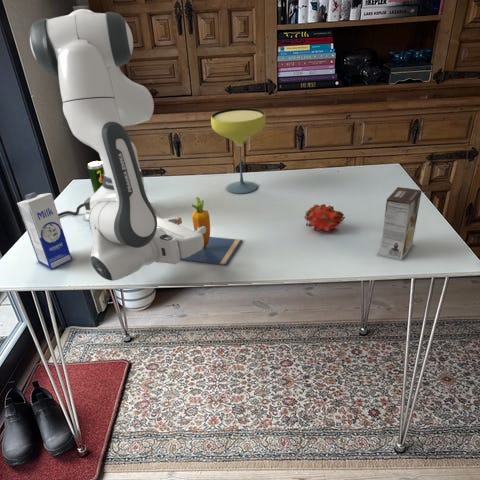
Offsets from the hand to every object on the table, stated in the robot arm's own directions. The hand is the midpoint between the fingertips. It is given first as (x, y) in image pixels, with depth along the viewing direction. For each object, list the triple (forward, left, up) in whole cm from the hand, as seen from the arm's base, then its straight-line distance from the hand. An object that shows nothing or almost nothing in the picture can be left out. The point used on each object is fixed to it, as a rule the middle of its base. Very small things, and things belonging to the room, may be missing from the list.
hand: (191, 223), depth 128 cm
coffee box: (+53, +13, -10) cm, 56 cm away
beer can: (-50, +33, -10) cm, 60 cm away
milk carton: (-39, -12, -10) cm, 41 cm away
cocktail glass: (-2, +49, -10) cm, 50 cm away
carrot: (+1, +3, -9) cm, 10 cm away
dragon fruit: (+32, +22, -10) cm, 41 cm away
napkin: (+1, +3, -9) cm, 10 cm away
